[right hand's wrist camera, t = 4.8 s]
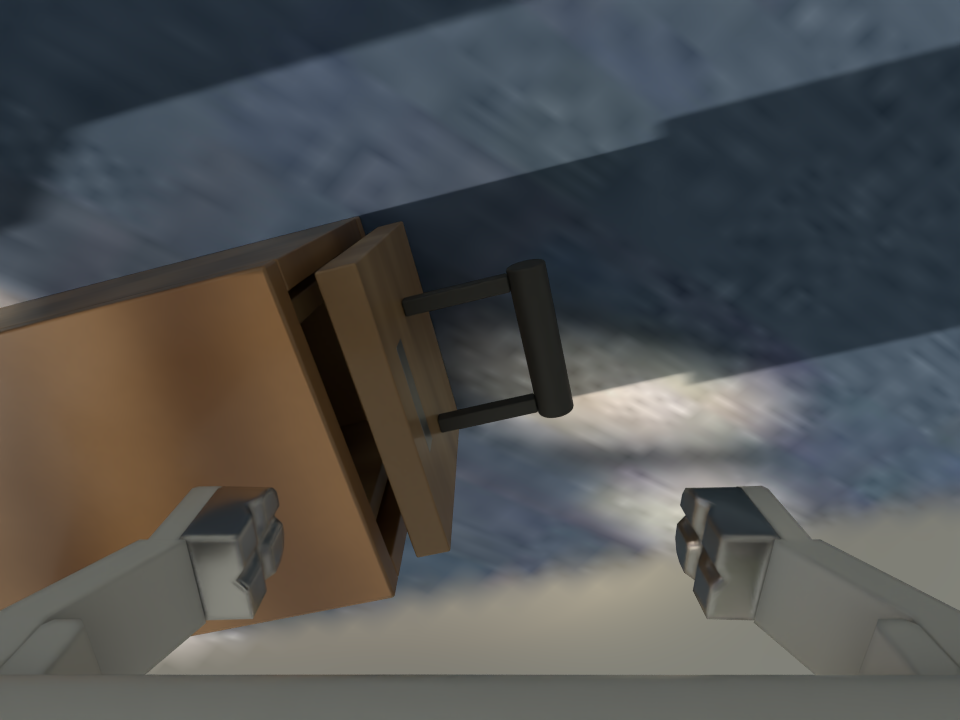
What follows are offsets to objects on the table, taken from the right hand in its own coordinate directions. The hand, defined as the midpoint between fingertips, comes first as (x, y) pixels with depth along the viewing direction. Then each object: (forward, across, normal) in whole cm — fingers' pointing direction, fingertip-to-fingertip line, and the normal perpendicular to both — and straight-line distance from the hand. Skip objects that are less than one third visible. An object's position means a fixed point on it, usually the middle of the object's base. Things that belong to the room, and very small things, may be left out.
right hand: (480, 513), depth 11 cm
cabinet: (+16, -13, -4) cm, 21 cm away
